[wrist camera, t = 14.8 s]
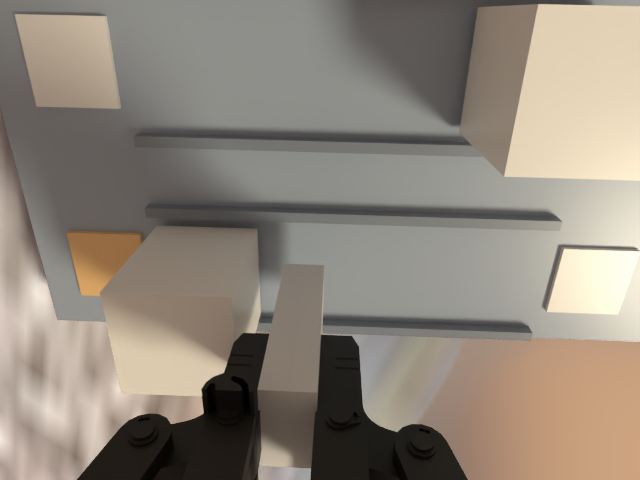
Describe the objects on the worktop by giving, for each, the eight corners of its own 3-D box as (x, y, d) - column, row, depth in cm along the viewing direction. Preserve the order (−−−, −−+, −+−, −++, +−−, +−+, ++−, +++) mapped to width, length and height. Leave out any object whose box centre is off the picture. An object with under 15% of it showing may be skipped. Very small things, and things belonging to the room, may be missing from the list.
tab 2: (477, 7, 15) (538, 4, 10) (605, 9, 15) (721, 8, 10) (459, 132, 17) (504, 176, 12) (572, 135, 17) (660, 181, 12)
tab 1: (157, 225, 19) (99, 293, 14) (257, 228, 19) (231, 297, 14) (169, 309, 20) (121, 392, 16) (260, 312, 20) (239, 397, 16)
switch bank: (0, -33, 17) (-52, -40, 15) (734, -19, 16) (797, -24, 14) (79, 295, 23) (51, 326, 21) (615, 315, 22) (646, 348, 20)
